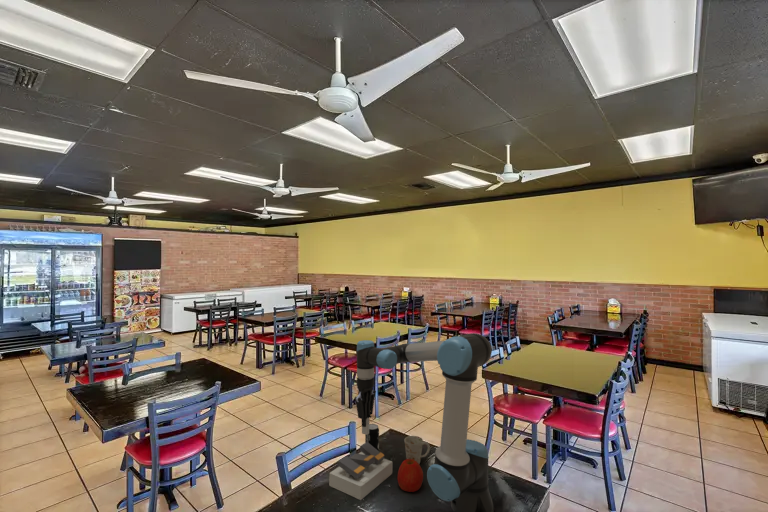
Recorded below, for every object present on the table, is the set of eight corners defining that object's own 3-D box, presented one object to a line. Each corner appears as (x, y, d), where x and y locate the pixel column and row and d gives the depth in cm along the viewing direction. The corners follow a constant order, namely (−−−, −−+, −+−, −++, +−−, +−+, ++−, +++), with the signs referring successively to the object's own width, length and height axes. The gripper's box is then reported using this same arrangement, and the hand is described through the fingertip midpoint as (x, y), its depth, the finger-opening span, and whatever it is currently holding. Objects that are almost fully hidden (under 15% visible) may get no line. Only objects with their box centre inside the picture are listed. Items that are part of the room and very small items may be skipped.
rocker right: (383, 459, 155) (384, 455, 155) (377, 464, 152) (378, 459, 151) (365, 445, 161) (367, 441, 160) (359, 449, 157) (360, 445, 157)
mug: (401, 459, 166) (401, 437, 166) (424, 454, 171) (424, 432, 171) (409, 468, 158) (410, 445, 159) (434, 462, 164) (434, 440, 164)
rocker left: (364, 473, 144) (365, 468, 143) (356, 479, 140) (357, 473, 140) (345, 460, 149) (346, 455, 149) (337, 465, 145) (338, 460, 145)
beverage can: (377, 456, 169) (377, 429, 169) (363, 454, 170) (363, 428, 171) (380, 449, 175) (380, 424, 176) (367, 447, 177) (367, 422, 177)
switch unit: (392, 473, 154) (392, 457, 155) (360, 500, 136) (360, 482, 137) (362, 462, 163) (362, 447, 164) (329, 485, 145) (329, 468, 146)
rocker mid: (375, 461, 149) (374, 455, 150) (368, 466, 145) (367, 460, 146) (356, 458, 155) (355, 452, 155) (349, 463, 151) (348, 457, 151)
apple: (424, 482, 149) (424, 455, 149) (420, 497, 139) (420, 469, 139) (400, 477, 151) (400, 452, 152) (394, 492, 141) (394, 464, 142)
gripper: (366, 372, 163) (367, 426, 162) (349, 379, 152) (349, 437, 151) (380, 375, 159) (381, 429, 158) (363, 382, 148) (363, 441, 147)
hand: (365, 433), depth 154 cm, fingers closed
